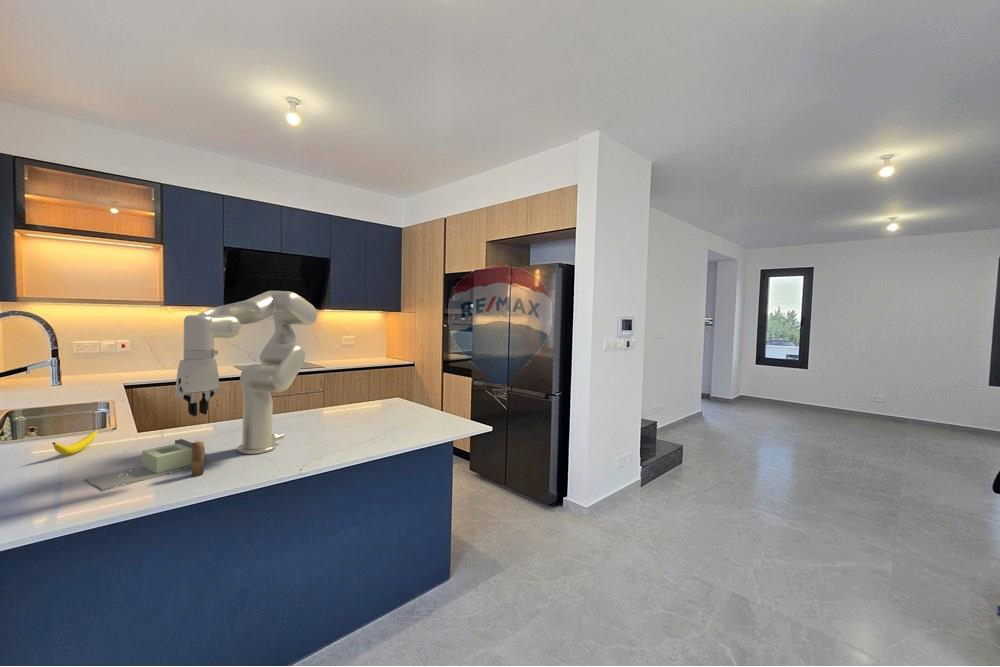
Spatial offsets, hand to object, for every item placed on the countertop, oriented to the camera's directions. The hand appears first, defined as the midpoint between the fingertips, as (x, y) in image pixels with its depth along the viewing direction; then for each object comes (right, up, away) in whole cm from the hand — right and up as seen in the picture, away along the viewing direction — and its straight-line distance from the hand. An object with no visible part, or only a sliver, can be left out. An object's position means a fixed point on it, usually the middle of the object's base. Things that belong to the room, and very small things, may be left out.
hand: (198, 413), depth 129 cm
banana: (-52, -16, +15) cm, 57 cm away
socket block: (-14, -18, +6) cm, 24 cm away
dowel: (-1, -19, +1) cm, 19 cm away
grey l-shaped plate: (-17, -18, +1) cm, 25 cm away
